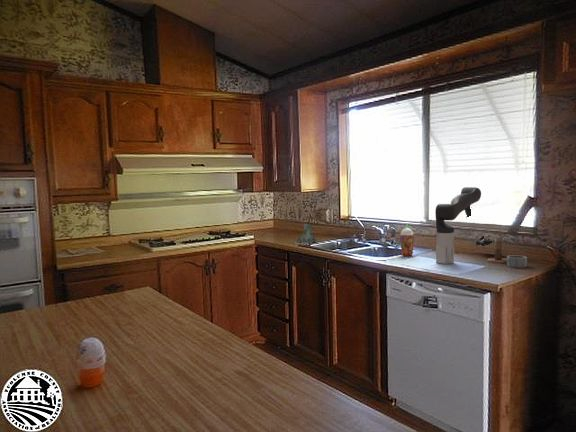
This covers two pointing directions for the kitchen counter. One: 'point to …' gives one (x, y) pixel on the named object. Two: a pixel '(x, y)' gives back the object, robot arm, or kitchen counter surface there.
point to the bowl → (516, 261)
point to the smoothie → (407, 241)
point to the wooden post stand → (498, 252)
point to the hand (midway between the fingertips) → (491, 244)
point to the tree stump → (306, 235)
